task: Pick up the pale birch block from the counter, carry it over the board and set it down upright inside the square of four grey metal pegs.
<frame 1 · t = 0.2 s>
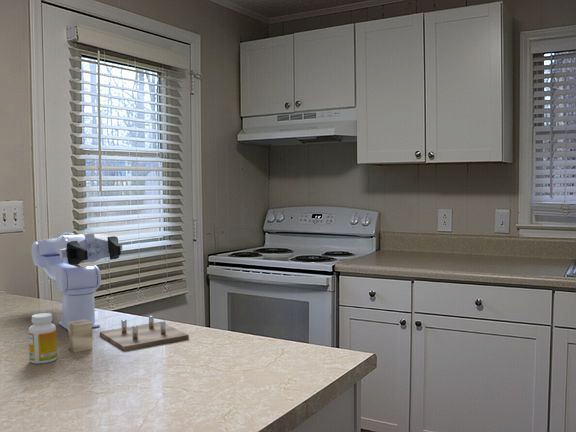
hand: (102, 252, 134), 21 cm above the counter, tool horizontal, fingers open, 7 cm apart
block: (80, 348, 132), on the counter
peg board: (143, 337, 141), on the counter
supplement bottle: (43, 361, 123), on the counter
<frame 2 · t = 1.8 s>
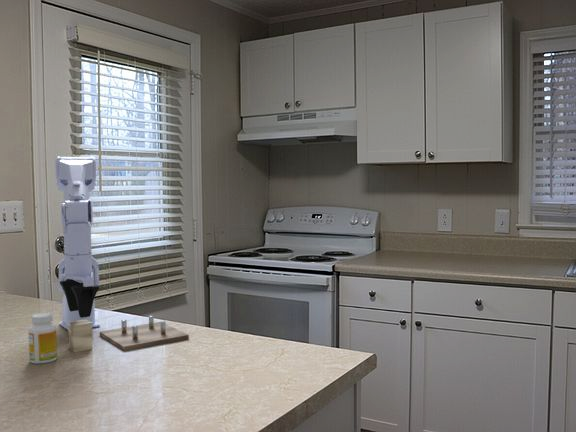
hand: (79, 313, 131), 8 cm above the counter, tool pointing down, fingers open, 7 cm apart
nothing on the counter moved.
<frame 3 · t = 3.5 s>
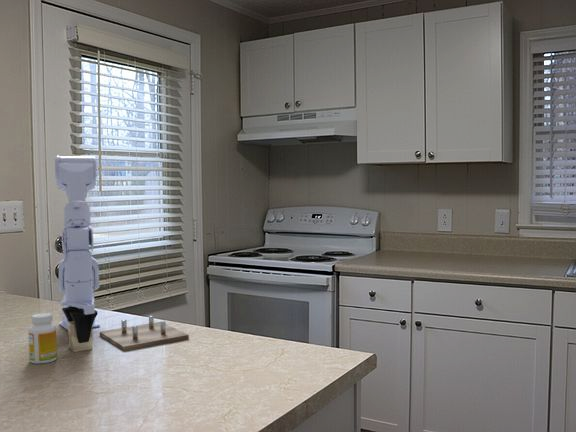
hand: (80, 339, 132), 2 cm above the counter, tool pointing down, fingers closed on block, 4 cm apart
block: (80, 348, 132), on the counter, touching gripper
everything else where it was.
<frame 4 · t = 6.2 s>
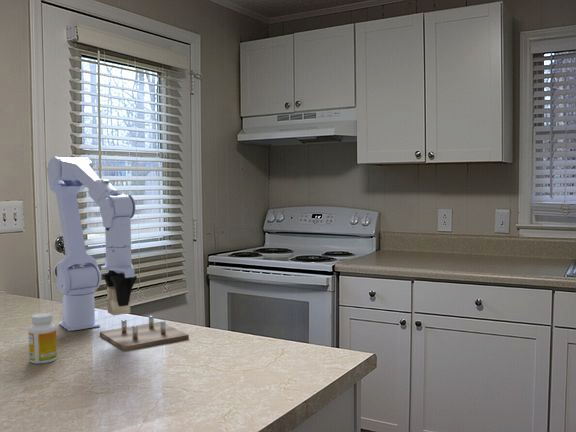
hand: (119, 303, 137), 9 cm above the counter, tool pointing down, fingers closed on block, 4 cm apart
block: (119, 312, 137), point 7 cm above the counter, touching gripper
everything else where it was.
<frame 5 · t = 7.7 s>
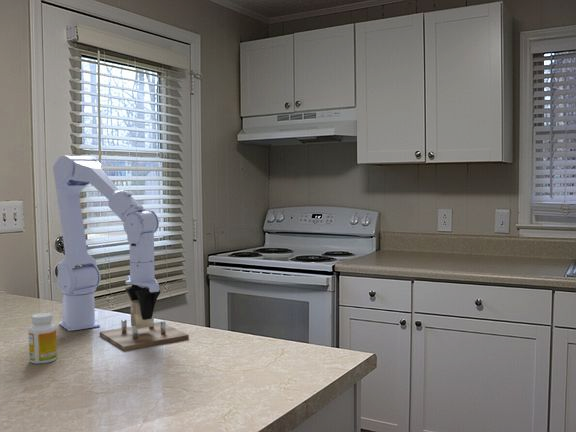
hand: (143, 317, 140), 5 cm above the counter, tool pointing down, fingers closed on block, 4 cm apart
block: (142, 325, 140), point 3 cm above the counter, touching gripper
everything else where it was.
when the fingers open (5 cm above the counter, at t = 8.8 s): block drops 2 cm, resting on peg board.
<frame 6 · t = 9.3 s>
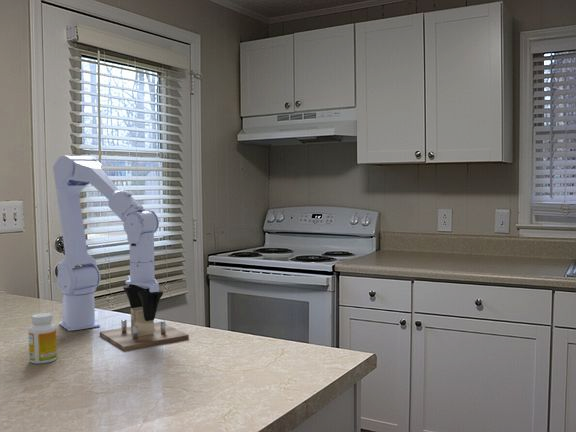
hand: (143, 317, 140), 5 cm above the counter, tool pointing down, fingers open, 7 cm apart
block: (142, 333, 141), point 1 cm above the counter, touching peg board
everything else where it was.
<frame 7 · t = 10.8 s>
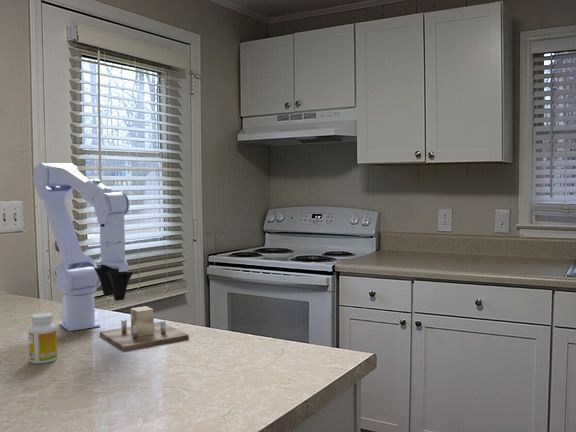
hand: (113, 297, 142), 9 cm above the counter, tool pointing down, fingers open, 7 cm apart
nothing on the counter moved.
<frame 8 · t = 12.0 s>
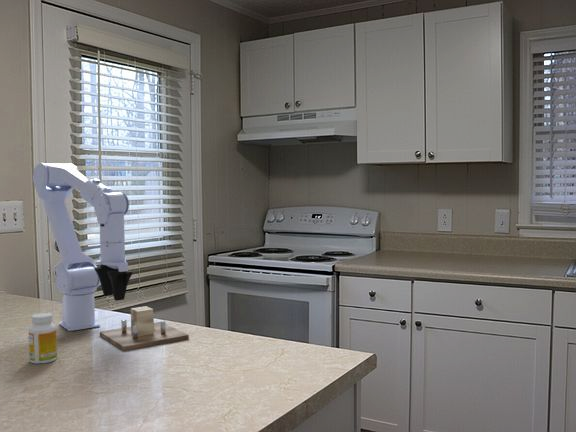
hand: (113, 297, 142), 9 cm above the counter, tool pointing down, fingers open, 7 cm apart
nothing on the counter moved.
at the end: block 0.3 cm off-centre on the peg board, point 1.0 cm above the peg board's base; block tilted 0°; the gripper is holding nothing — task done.
